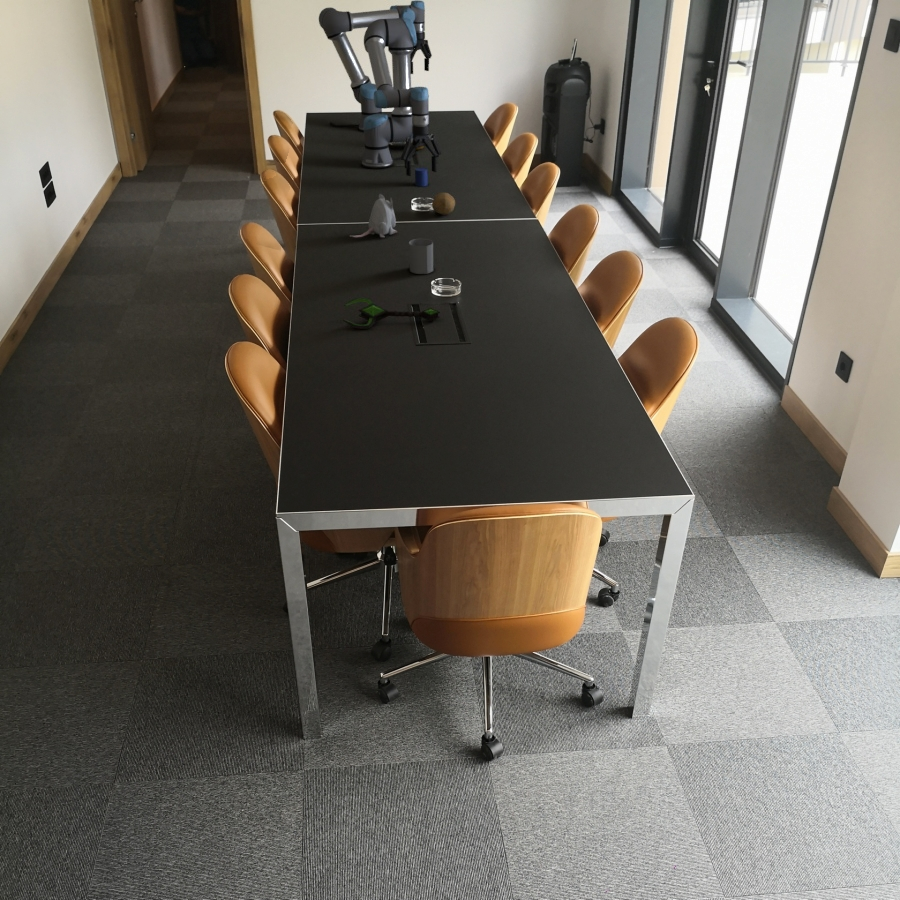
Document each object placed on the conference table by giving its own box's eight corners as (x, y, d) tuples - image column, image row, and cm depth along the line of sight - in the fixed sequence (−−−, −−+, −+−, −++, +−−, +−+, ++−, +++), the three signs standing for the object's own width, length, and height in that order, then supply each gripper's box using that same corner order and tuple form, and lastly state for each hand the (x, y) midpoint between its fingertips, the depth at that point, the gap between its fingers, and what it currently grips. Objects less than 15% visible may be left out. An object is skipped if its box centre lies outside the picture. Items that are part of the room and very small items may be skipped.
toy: (402, 233, 342) (401, 194, 333) (358, 248, 327) (355, 208, 319) (387, 227, 347) (385, 190, 339) (342, 242, 332) (339, 203, 324)
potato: (453, 208, 369) (453, 189, 365) (456, 218, 357) (456, 199, 353) (431, 208, 368) (430, 189, 364) (432, 218, 356) (432, 199, 352)
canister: (414, 186, 397) (414, 170, 393) (416, 182, 402) (415, 167, 398) (426, 186, 397) (426, 171, 393) (428, 183, 401) (428, 167, 398)
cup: (409, 265, 311) (408, 238, 306) (432, 265, 312) (431, 238, 307) (410, 274, 304) (409, 246, 299) (433, 273, 305) (433, 246, 299)
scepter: (439, 293, 272) (343, 290, 270) (440, 323, 265) (342, 321, 263) (438, 306, 277) (344, 304, 275) (439, 336, 270) (342, 334, 268)
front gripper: (400, 129, 376) (402, 179, 388) (448, 123, 388) (448, 171, 399) (391, 126, 382) (393, 175, 393) (439, 120, 393) (439, 168, 405)
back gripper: (408, 34, 476) (409, 75, 488) (437, 29, 492) (437, 70, 504) (398, 33, 480) (399, 74, 492) (427, 28, 496) (428, 68, 508)
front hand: (421, 173), depth 396 cm, fingers open, 13 cm apart
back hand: (418, 72), depth 498 cm, fingers open, 13 cm apart
